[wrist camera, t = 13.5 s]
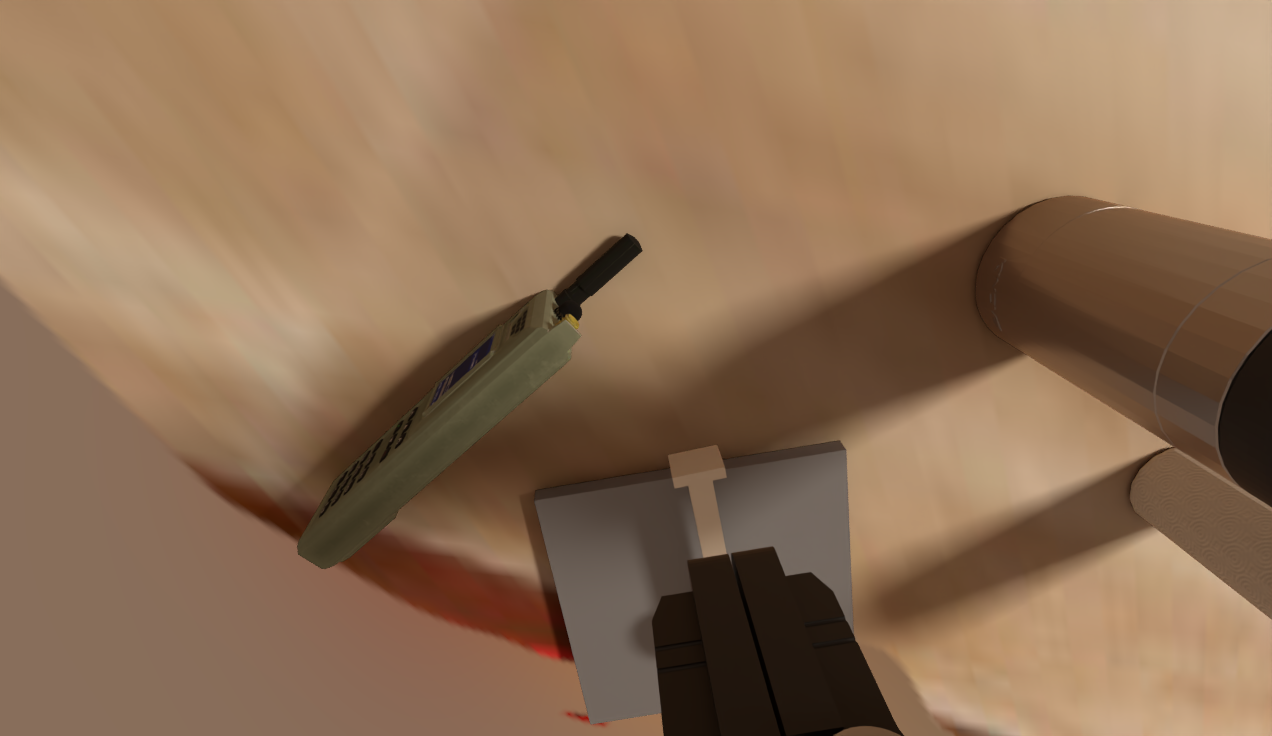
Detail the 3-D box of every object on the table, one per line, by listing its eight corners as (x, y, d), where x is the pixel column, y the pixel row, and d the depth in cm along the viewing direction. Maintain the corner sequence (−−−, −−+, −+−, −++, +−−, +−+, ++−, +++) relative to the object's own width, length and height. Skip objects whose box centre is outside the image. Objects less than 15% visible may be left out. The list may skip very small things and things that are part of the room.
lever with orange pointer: (770, 688, 50) (785, 739, 46) (712, 700, 50) (721, 752, 46) (724, 431, 42) (738, 467, 38) (654, 446, 42) (660, 483, 38)
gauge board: (839, 440, 44) (847, 452, 43) (850, 669, 52) (856, 685, 50) (535, 490, 44) (533, 503, 43) (590, 710, 52) (590, 727, 51)
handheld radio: (325, 478, 44) (614, 212, 38) (366, 508, 45) (652, 254, 39) (284, 545, 37) (621, 241, 32) (333, 578, 39) (666, 290, 33)
